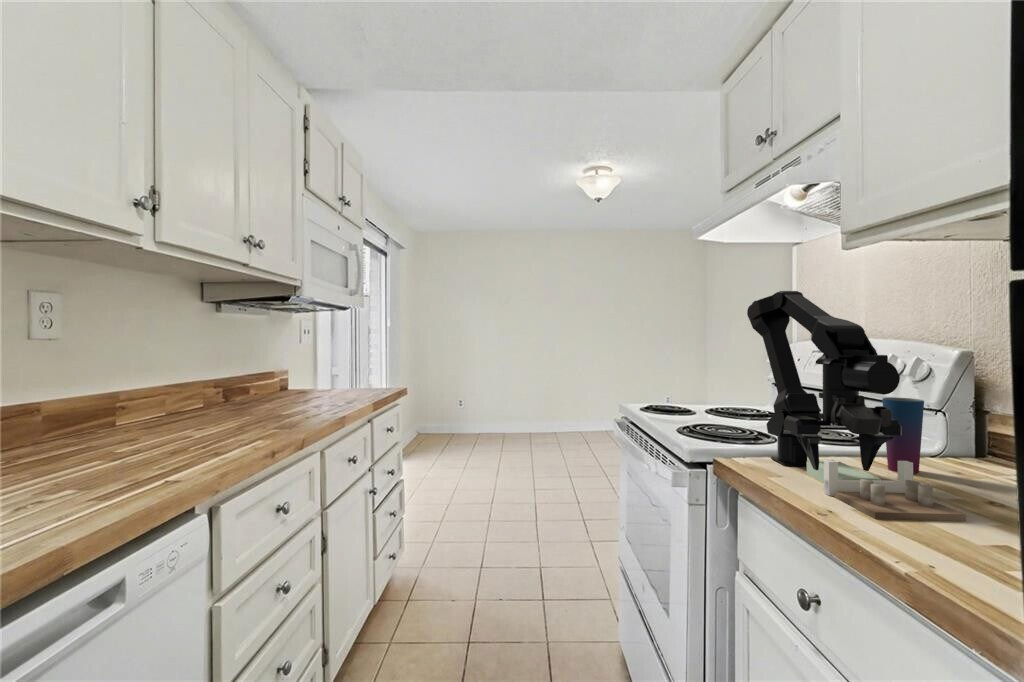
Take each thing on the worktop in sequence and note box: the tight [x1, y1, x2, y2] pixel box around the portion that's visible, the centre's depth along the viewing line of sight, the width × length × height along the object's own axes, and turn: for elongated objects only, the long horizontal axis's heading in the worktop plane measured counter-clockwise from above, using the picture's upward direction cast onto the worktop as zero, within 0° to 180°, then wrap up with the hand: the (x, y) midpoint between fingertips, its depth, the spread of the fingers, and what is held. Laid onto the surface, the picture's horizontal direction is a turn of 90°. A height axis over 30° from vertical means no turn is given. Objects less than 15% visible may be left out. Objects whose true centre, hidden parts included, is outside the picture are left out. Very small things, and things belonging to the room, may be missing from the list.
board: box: [806, 460, 881, 484], centre depth 90 cm, size 12×6×3 cm, turn 175°
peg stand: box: [834, 479, 967, 522], centre depth 76 cm, size 10×13×4 cm
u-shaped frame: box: [823, 459, 914, 497], centre depth 83 cm, size 2×14×6 cm, turn 86°
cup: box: [881, 396, 925, 475], centre depth 99 cm, size 7×7×15 cm
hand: (840, 470), depth 90 cm, fingers open, 9 cm apart
